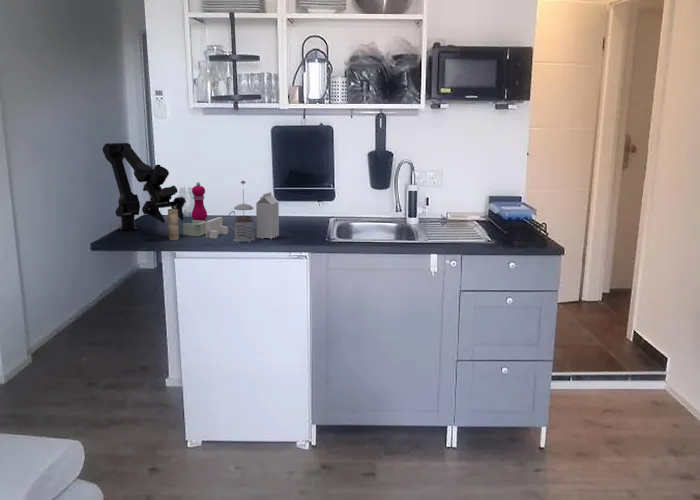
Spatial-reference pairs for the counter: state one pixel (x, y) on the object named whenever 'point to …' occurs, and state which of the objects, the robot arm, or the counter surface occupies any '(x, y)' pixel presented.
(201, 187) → the pepper mill
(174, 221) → the dowel
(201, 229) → the cradle
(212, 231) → the backstop wall
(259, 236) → the milk carton
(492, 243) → the counter surface
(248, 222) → the french press
